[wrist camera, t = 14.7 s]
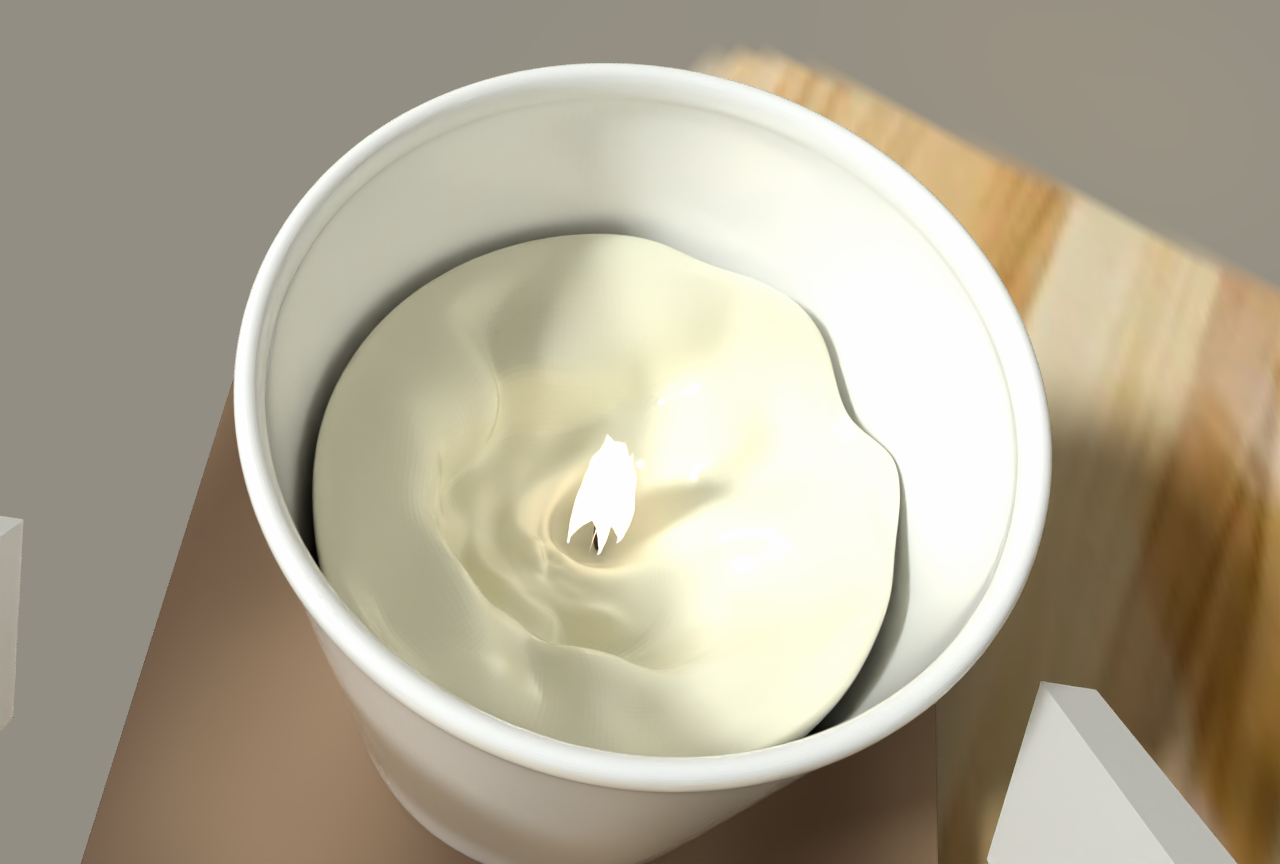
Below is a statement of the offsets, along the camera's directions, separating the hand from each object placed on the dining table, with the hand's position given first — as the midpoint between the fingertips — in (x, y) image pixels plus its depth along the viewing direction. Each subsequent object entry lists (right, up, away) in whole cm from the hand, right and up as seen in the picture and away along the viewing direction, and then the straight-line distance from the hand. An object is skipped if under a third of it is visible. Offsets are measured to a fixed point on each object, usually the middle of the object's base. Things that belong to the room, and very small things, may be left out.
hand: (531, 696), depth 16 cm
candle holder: (0, -2, +9) cm, 10 cm away
